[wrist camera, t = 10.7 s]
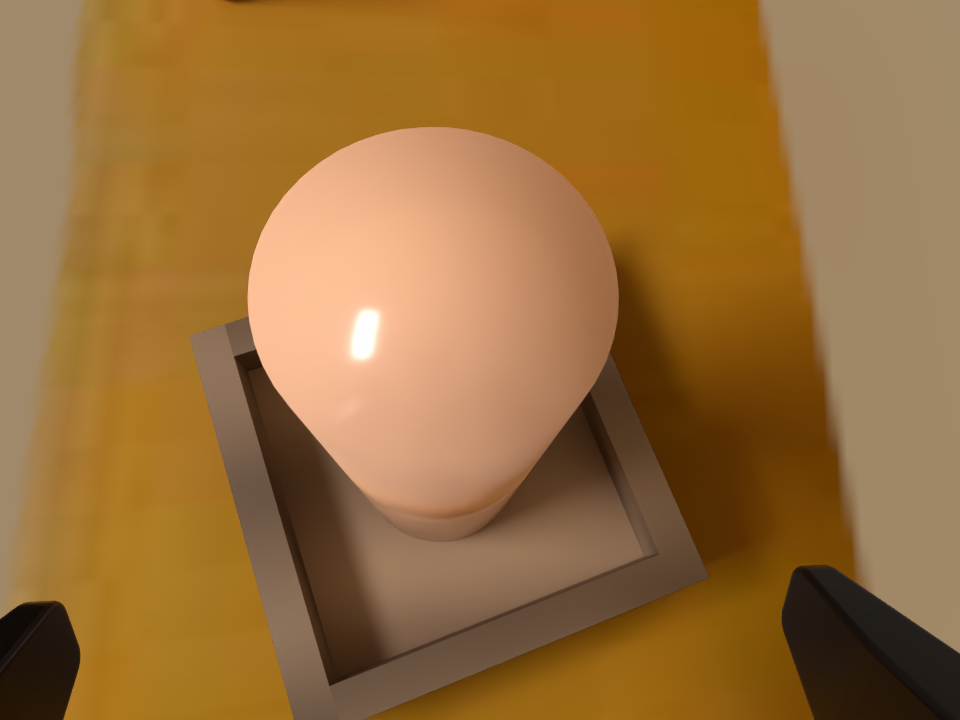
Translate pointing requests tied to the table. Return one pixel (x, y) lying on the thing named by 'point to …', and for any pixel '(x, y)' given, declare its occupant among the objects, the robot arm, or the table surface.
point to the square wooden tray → (435, 546)
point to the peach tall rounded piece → (433, 318)
